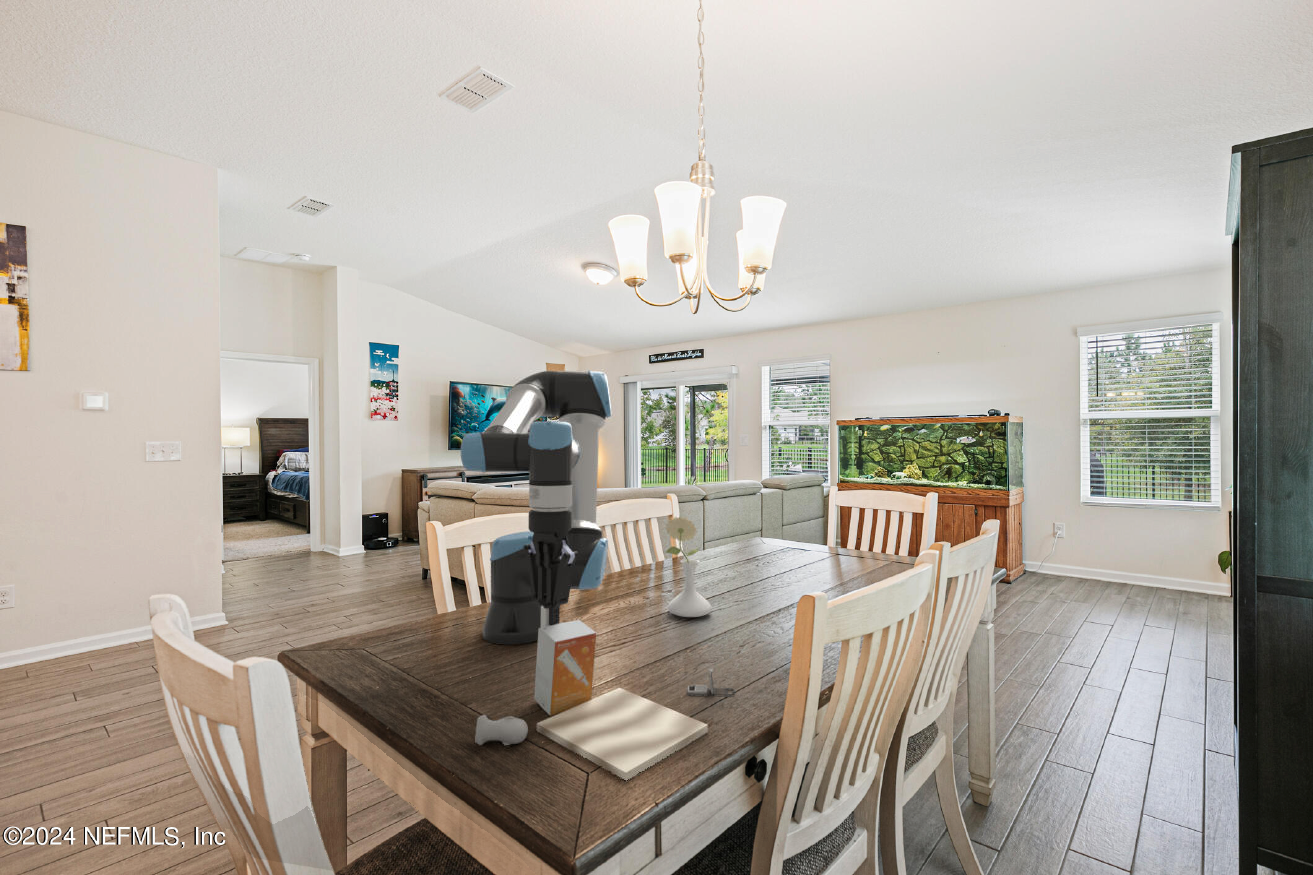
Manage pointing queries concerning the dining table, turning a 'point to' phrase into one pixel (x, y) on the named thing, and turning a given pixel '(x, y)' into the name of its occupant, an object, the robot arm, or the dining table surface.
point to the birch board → (622, 731)
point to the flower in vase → (686, 572)
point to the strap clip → (704, 690)
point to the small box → (564, 666)
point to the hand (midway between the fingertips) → (549, 642)
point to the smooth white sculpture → (501, 730)
